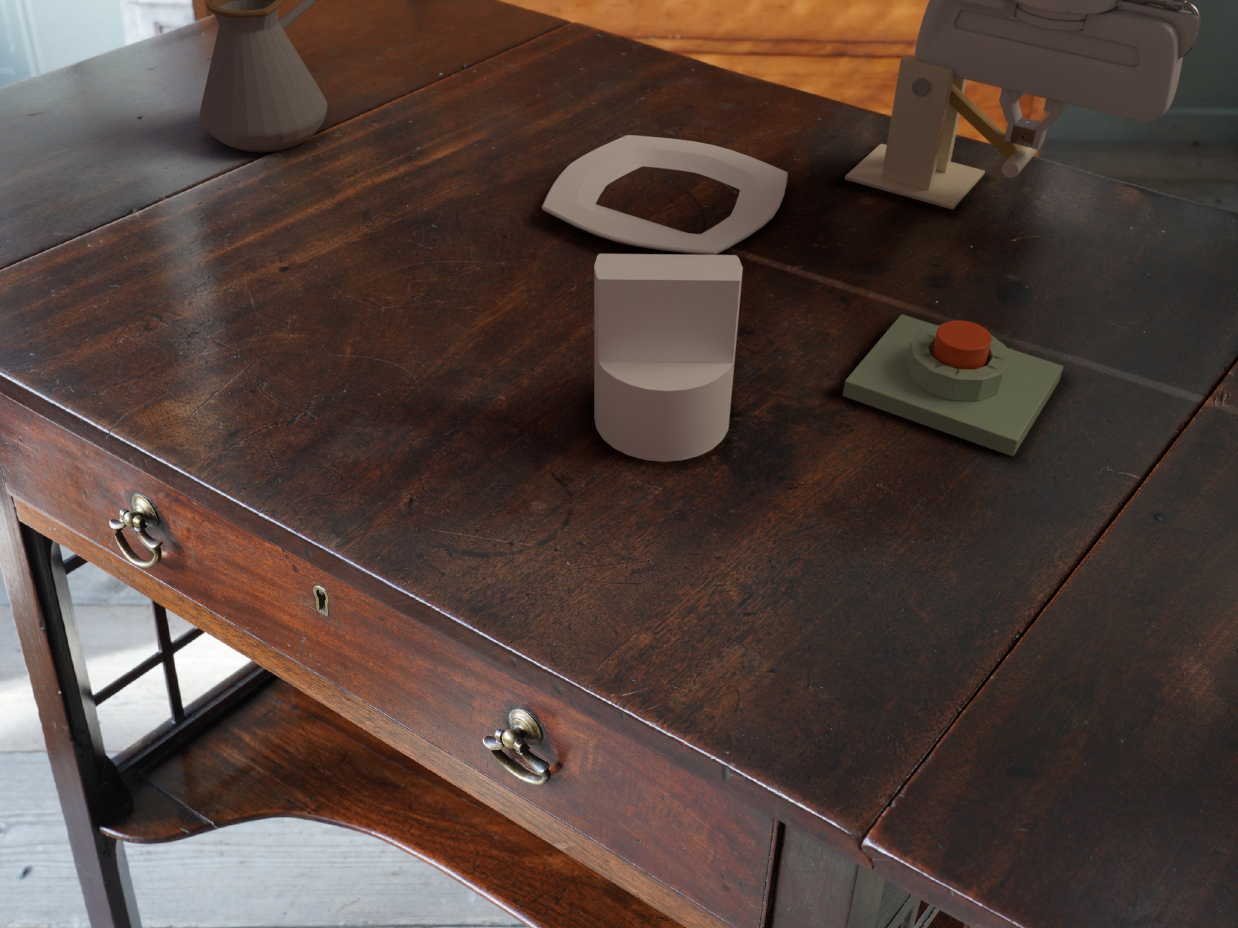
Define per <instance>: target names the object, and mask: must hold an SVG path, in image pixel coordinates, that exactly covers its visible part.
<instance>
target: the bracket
mask: <svg viewBox="0 0 1238 928" xmlns="http://www.w3.org/2000/svg"><path fill="white" fill-rule="evenodd" d="M953 71H954V69H952V68H947V67H943V66H939V65H934V64H930V63H925V62H921V61H918V60H917V59H916V57H912V56H909V55H904V56H903V57H902V58H901V59H900V61H899V69H898V73H897V80H896V87H895V93H894V98H893V104H892V110H891V116H890V124H889V128H888V134H887V142H886V144H884V143H879V144H878V145H877V146H876V147H875V148H874V149H873V150H872V151H871V152H869V154H868V155H867V156H866V157H864V158H863V159H862V160H861V161H860V162H859V163H857V165H856V166H855V167H853V169H851V170H850V171H849V172H848V173H847V174H846V175H845V176H844V180H845V181H849V182H851V183H852V182H853V183H856V184H860V185H863V186H867V187H871V188H875V189H878V190H882V191H885V192H889V193H892V194H896V195H899V196H903V197H908V198H910V199H914V200H917V201H921V202H924V203H929V204H932V205H936V206H939V207H942V208H945V209H949V210H954V209H955V208H956V207H957V206H958V205H959V203H960V202H961V201H962V200H963V199H964V197H965V196H966V195H968V193H969V192H970V191H972V189H973V187H975V186H976V184H978V182H979V181H980V180H981V179H982V178H983V177H984V175H985V173H986V171H985V170H984V169H980V168H977V167H972V166H969V165H966V164H965V165H964V164H961V163H957V162H954V161H952V158H953V157H952V156H953V152H954V147H955V142H956V137H957V131H958V127H959V122H960V118H961V117H960V116H961V114H959V113H958V112H957V111H956V110H955V109H954V108H953V107H952V106H951V105H950V104H949V99H950V94H951V89H952V83H953V84H954V85H955V86H956V87H957V88H958V89H959V90H960V91H962V92H963V93H964V94H965V91H966V87H967V82H968V80H966V79H962V78H957V77H955V79H954V80H953V78H954V77H953Z"/></svg>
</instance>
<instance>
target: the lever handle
mask: <svg viewBox="0 0 1238 928" xmlns="http://www.w3.org/2000/svg"><path fill="white" fill-rule="evenodd" d="M954 79H955V77H954V78H953V80H954ZM949 104H950V105H951V106H952V107H953V108H954V109H955V110H956V111H957V112H958V113H959V114H960V116H961V117H963V118H964V119H965V120H966V121H967V123H969V124H970V125H971V126H972V127H973V129H975V130H976V131H977V132H978V133H979V134H980V135H981V136H982V137H984V139H985V140H986V141H988V142H989V144H990V145H992V146H993V147H994V148H995V149H996V150H997V151H998V152H999V153H1000V154H1001V155H1002V156H1003V157H1004V158H1005V159H1006V161H1004V163H1003V164H1002V165H1001V173H1002V175H1003V176H1004V177H1005V178H1008V179H1013V178H1016V177H1017V176H1018V175H1019V174H1020V172H1021V171H1022V170H1023V169H1024V168H1025V166H1026V165H1028V164H1029V162H1030V161H1031V160H1032V158H1033V157H1035V155H1036V154H1037V153H1038V150H1036V149H1032V148H1028V147H1025V146H1021V145H1018V144H1013V143H1008V142H1005V141H1004V138H1005V134H1006V131H1004V130H1003V129H1002V128H1000V127H999V125H997V123H995V122H994V121H993V120H992V119H991V118H990V117H989V116H988V115H987V114H986V113H985V112H984V111H983V110H982V109H981V108H980V107H979V106H977V105H976V104H975V102H973V101H972V100H971V99H970V98H969V97H968V96H967V95H966V94H965V92H964V93H963V92H962V91H960V90H959V89H958V88H957V87H956V86H955V85H954V84H953V83H952V89H951V94H950V99H949Z"/></svg>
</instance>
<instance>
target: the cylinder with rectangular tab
mask: <svg viewBox="0 0 1238 928" xmlns="http://www.w3.org/2000/svg"><path fill="white" fill-rule="evenodd" d="M593 270H594V271H593V331H594V332H593V335H594V336H593V345H594V346H593V355H594V356H593V363H594V364H593V365H594V367H593V368H594V369H593V371H594V373H593V376H594V377H593V378H594V379H593V381H594V382H593V385H594V386H593V387H594V388H593V390H594V391H593V392H594V393H593V395H594V396H593V397H594V398H593V399H594V400H593V401H594V402H593V404H594V405H593V407H594V410H593V419H594V422H595V428H596V429H595V430H597V432H598V434H599V435H600V437H601V438H602V440H603V441H604V442H606V443H607V444H608V445H610V447H611V448H613V449H614V450H617V451H618V452H621V453H623V454H625V455H627V456H629V457H632V458H637V459H641V460H644V461H650V462H651V461H652V462H653V461H654V462H663V463H665V462H677V461H680V462H681V461H684V460H689V459H692V458H696V457H699V456H701V455H704V454H705V453H708V452H711V451H712V450H713V449H715V448H716V447H717V446H718V445H719V444H720V443H721V442H722V441H723V440H724V439H725V437H726V435H727V433H728V431H729V428H730V418H731V417H730V415H731V406H732V405H731V404H732V393H733V385H734V383H733V382H734V371H735V361H736V348H737V338H738V337H737V336H738V327H739V326H738V325H739V315H740V304H741V292H742V281H743V271H744V267H743V265H742V262H741V259H740V258H739V256H738V255H737V254H716V255H707V254H663V253H661V254H660V253H659V254H658V253H657V254H656V253H652V254H651V253H598V255H597V256H596V259H595V262H594V266H593Z"/></svg>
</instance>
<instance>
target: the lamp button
mask: <svg viewBox="0 0 1238 928" xmlns="http://www.w3.org/2000/svg"><path fill="white" fill-rule="evenodd" d="M939 325H940V326H939V327H938V329H937V332H936V337H935V342H934V347H933V352H932V353H933V357H934V358H935V359H936V360H938V361H939V362H940V363H941V364H944V365H947V366H950V367H953V368H956V369H971V370H975V369H978V368H981V367H983V366H984V365H985V363H986V361H987V357H988V353H989V349H990V345H991V341H992V338H991V335H992V334H991V333H990V331H988V329H986V327H983V326H982V325H980V324H978V323H975V322H972V321H968V320H957V319H955V320H949V321H946V322H944V323H941V324H939ZM990 334H991V335H990Z"/></svg>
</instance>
